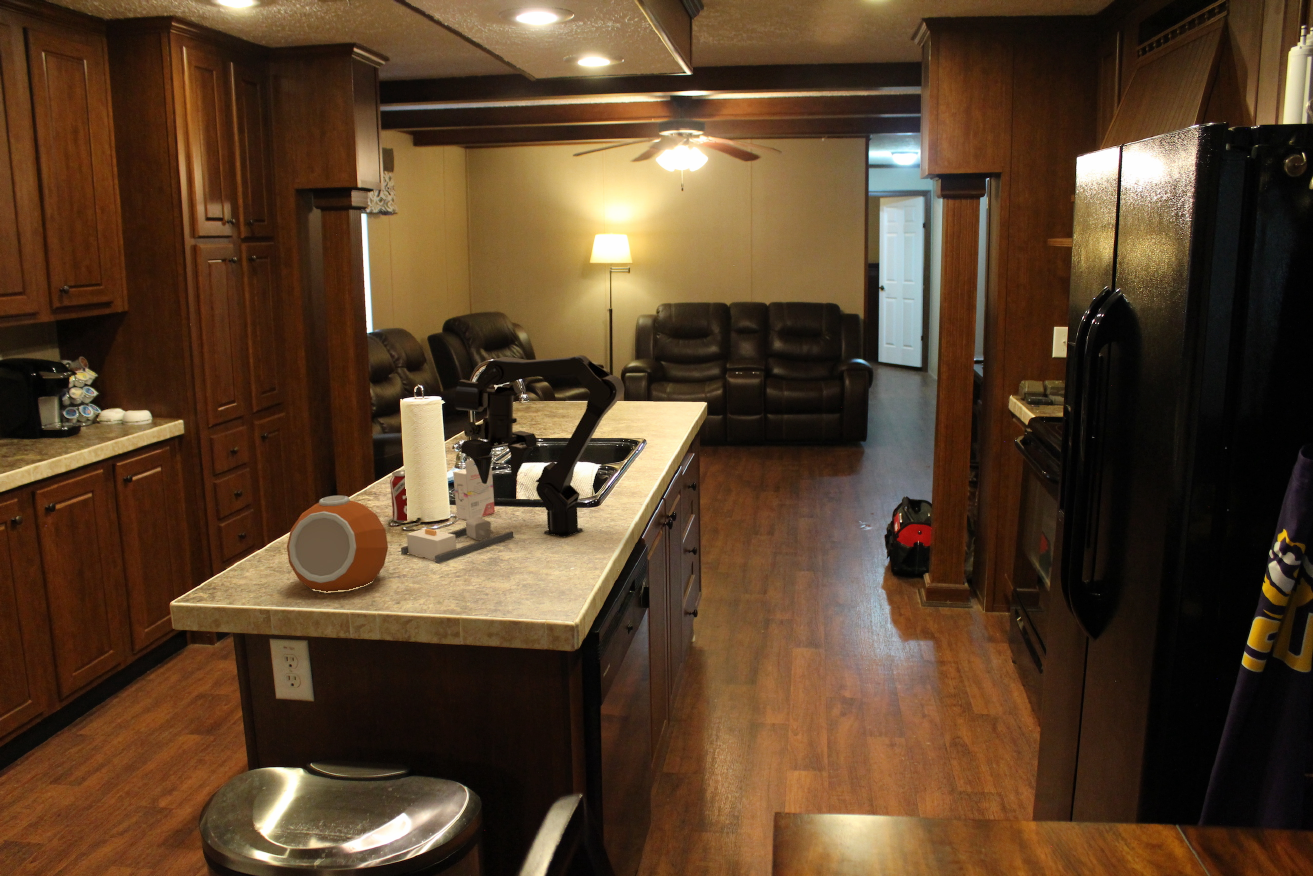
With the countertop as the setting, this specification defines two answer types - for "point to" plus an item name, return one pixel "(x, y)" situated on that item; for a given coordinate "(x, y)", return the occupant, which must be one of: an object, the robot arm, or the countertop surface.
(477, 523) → the usb wall charger
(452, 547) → the block
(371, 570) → the alarm clock
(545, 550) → the countertop surface
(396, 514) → the soda can
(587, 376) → the robot arm
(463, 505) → the ink cartridge box
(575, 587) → the countertop surface
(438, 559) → the gray rail frame
